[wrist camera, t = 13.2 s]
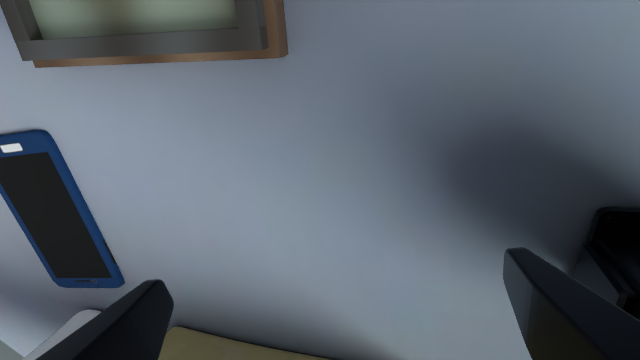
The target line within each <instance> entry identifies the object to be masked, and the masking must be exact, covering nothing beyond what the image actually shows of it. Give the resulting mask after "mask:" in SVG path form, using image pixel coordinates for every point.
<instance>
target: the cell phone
mask: <svg viewBox="0 0 640 360" xmlns="http://www.w3.org/2000/svg"><path fill="white" fill-rule="evenodd" d="M0 193H1V195H2V197H3V198H4V200H5V202H6V203H7V205H8V207H9V208H10V210H11V212H12V213H13V215H14V217H15V218H16V220H17V222H18V223H19V225H20V227H21V228H22V230H23V232H24V233H25V235H26V237H27V238H28V240H29V242H30V243H31V245H32V247H33V248H34V250H35V252H36V253H37V255H38V257H39V258H40V260H41V262H42V263H43V265H44V267H45V268H46V270H47V272H48V273H49V275H50V277H51V278H52V280H53V281H54V282H55V283H56V284H57V285H59V286H61V287H66V288H118V287H121V286H122V285H123V284H124V283H125V282H124V279H123V276H122V274H121V272H120V270H119V267H118V265H117V263H116V262H115V260H114V258H113V256H112V254H111V252H110V250H109V248H108V246H107V244H106V242H105V240H104V238H103V236H102V234H101V232H100V230H99V228H98V226H97V224H96V222H95V220H94V218H93V216H92V214H91V212H90V210H89V208H88V206H87V204H86V202H85V200H84V198H83V196H82V194H81V192H80V190H79V188H78V186H77V184H76V182H75V180H74V178H73V176H72V174H71V172H70V170H69V168H68V166H67V164H66V162H65V160H64V158H63V156H62V154H61V152H60V150H59V148H58V146H57V145H56V143H55V141H54V139H53V138H52V136H51V135H50V134H49V133H48V132H47V131H45V130H32V131H25V132H18V133H11V134H5V135H0Z"/></svg>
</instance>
